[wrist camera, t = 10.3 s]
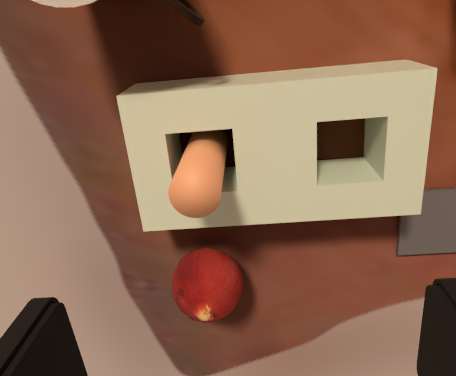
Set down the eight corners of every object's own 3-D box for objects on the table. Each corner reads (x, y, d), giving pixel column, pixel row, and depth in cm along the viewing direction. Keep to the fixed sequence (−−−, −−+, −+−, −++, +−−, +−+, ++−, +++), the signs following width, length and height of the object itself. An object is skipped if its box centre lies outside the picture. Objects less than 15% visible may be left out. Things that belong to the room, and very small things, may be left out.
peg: (225, 122, 31) (218, 168, 22) (229, 158, 32) (223, 216, 23) (187, 125, 31) (164, 172, 22) (192, 161, 32) (172, 219, 23)
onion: (210, 294, 38) (202, 362, 31) (166, 256, 36) (146, 318, 29) (255, 259, 36) (258, 322, 29) (211, 218, 35) (202, 273, 27)
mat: (502, 184, 32) (505, 186, 32) (490, 247, 35) (492, 250, 34) (401, 191, 33) (403, 193, 32) (396, 252, 35) (397, 255, 35)
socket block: (406, 59, 29) (437, 68, 24) (396, 186, 33) (420, 214, 28) (135, 83, 30) (116, 96, 26) (156, 202, 34) (143, 231, 30)
